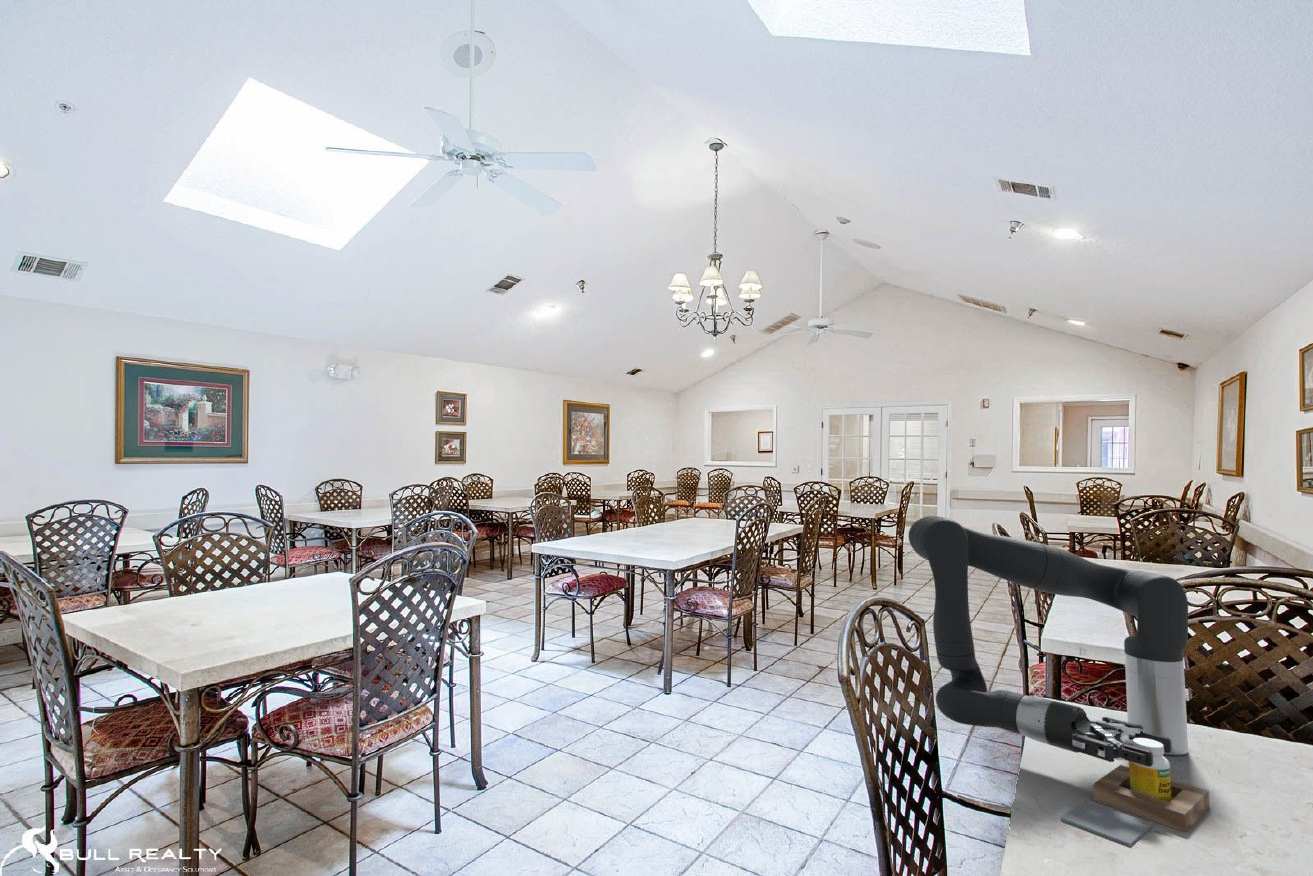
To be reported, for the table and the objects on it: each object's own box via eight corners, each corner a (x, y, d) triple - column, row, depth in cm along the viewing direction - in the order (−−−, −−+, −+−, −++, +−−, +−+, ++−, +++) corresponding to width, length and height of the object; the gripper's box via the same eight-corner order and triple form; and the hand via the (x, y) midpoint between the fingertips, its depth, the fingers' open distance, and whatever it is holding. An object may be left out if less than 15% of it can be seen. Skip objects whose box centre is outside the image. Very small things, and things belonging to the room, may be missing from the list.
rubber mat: (1085, 802, 105) (1084, 800, 105) (1152, 826, 98) (1152, 823, 98) (1060, 820, 100) (1060, 817, 100) (1130, 846, 93) (1130, 843, 93)
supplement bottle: (1138, 792, 109) (1136, 733, 109) (1178, 806, 104) (1174, 744, 105) (1124, 801, 106) (1121, 740, 106) (1164, 816, 101) (1161, 752, 102)
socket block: (1121, 779, 113) (1120, 764, 113) (1209, 807, 104) (1208, 791, 104) (1093, 800, 106) (1092, 784, 106) (1185, 832, 97) (1184, 814, 97)
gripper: (1032, 709, 113) (1145, 739, 100) (1067, 693, 121) (1175, 718, 108) (1034, 754, 112) (1147, 790, 99) (1069, 734, 121) (1177, 765, 108)
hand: (1161, 752), depth 104 cm, fingers open, 8 cm apart
